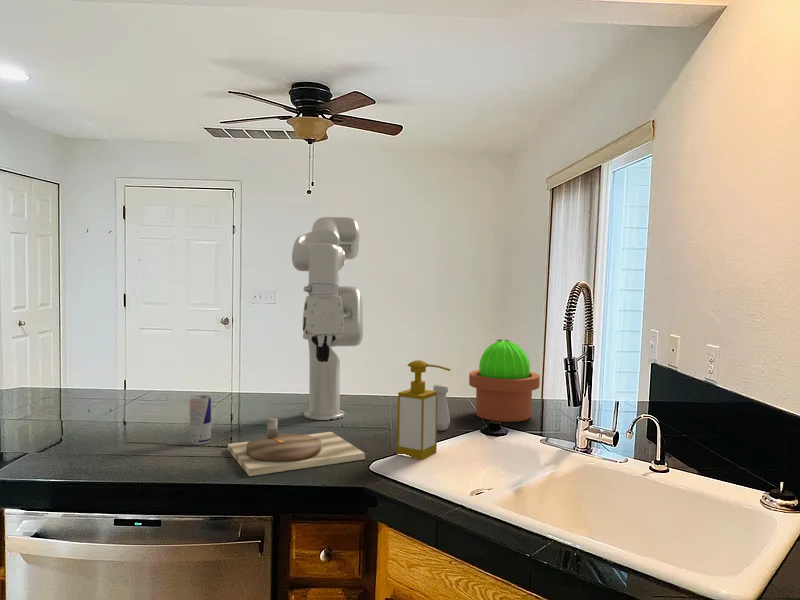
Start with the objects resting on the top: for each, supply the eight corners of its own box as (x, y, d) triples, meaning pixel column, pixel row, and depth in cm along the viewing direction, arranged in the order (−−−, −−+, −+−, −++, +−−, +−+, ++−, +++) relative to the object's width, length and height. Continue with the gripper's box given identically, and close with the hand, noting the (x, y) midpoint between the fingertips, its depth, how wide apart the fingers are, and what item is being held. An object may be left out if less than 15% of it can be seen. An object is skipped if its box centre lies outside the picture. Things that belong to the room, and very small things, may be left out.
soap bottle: (442, 464, 142) (443, 365, 141) (397, 455, 149) (398, 360, 148) (455, 456, 148) (457, 361, 147) (412, 448, 155) (413, 357, 154)
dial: (335, 452, 144) (335, 427, 143) (264, 465, 133) (264, 439, 133) (300, 435, 158) (300, 413, 158) (234, 446, 147) (234, 422, 147)
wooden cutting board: (227, 449, 151) (227, 441, 151) (331, 437, 164) (331, 429, 164) (249, 476, 132) (249, 466, 131) (364, 459, 145) (364, 450, 145)
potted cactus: (525, 428, 177) (527, 344, 176) (458, 418, 188) (459, 339, 187) (546, 413, 196) (548, 337, 195) (484, 405, 207) (485, 333, 206)
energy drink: (215, 440, 159) (215, 396, 159) (202, 446, 154) (202, 400, 154) (198, 438, 161) (198, 394, 160) (185, 443, 156) (185, 398, 155)
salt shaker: (448, 431, 171) (449, 386, 171) (428, 430, 172) (429, 385, 172) (451, 426, 177) (451, 383, 176) (431, 425, 178) (432, 382, 178)
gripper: (301, 291, 148) (301, 365, 149) (355, 291, 155) (354, 361, 156) (290, 290, 154) (290, 361, 155) (343, 290, 162) (342, 357, 163)
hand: (322, 361), depth 156 cm, fingers closed
